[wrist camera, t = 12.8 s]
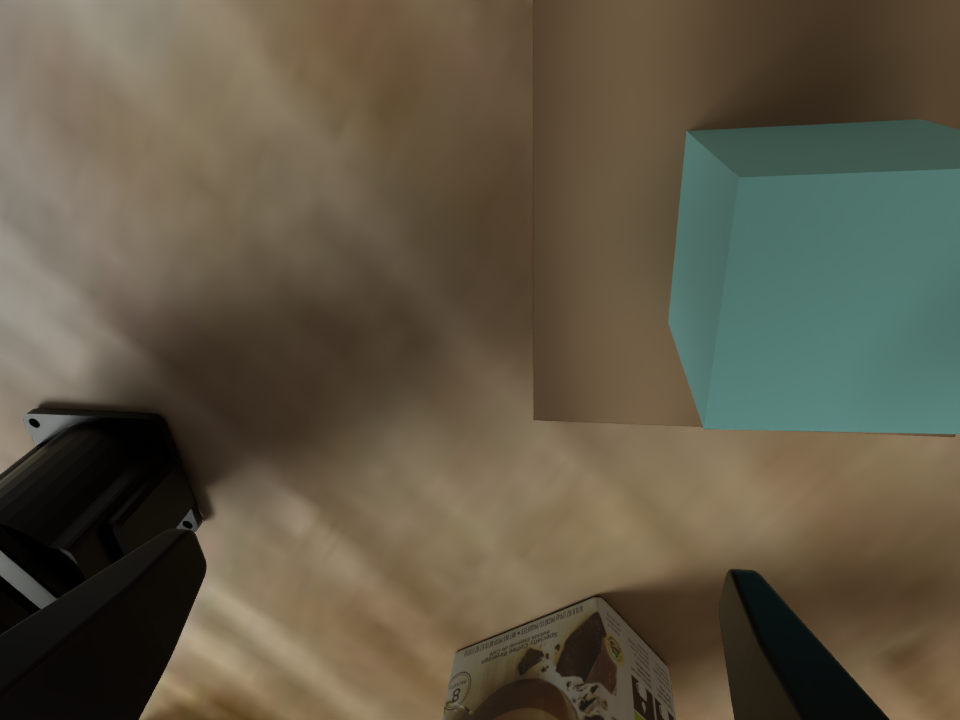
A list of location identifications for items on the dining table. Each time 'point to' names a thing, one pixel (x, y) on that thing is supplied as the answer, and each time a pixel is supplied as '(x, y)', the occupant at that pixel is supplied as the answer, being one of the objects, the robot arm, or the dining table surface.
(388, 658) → the dining table surface
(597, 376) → the walnut block
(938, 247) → the teal block
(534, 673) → the coffee box
